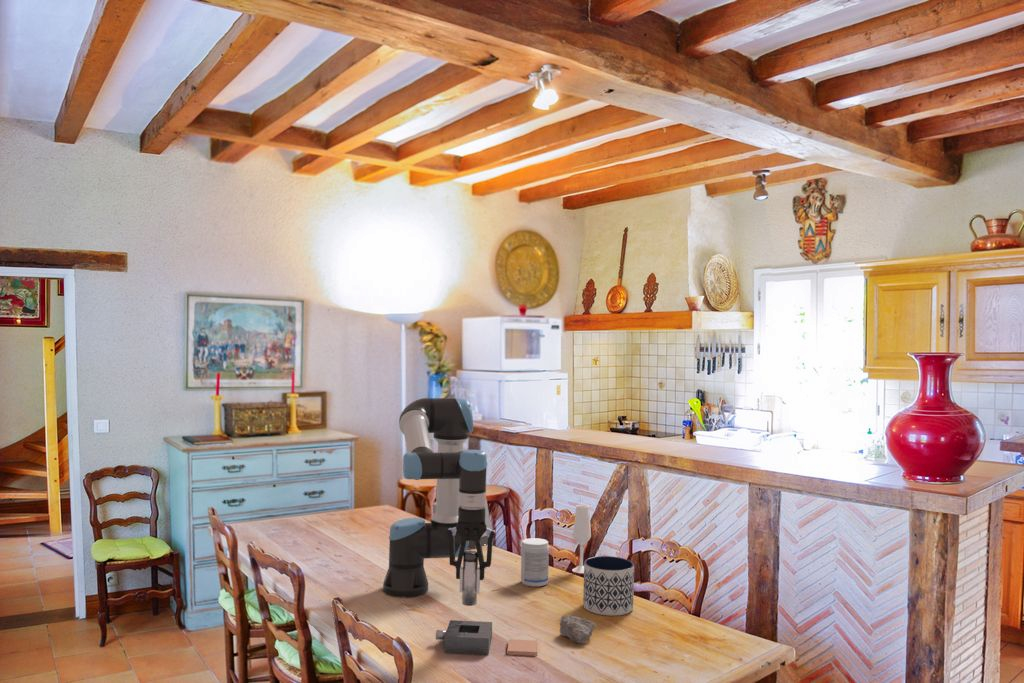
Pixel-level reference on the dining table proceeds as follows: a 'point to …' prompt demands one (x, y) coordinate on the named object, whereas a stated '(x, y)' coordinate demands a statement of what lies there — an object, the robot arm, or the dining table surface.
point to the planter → (608, 585)
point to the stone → (576, 628)
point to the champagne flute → (581, 531)
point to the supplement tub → (534, 562)
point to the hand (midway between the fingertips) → (469, 590)
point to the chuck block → (466, 637)
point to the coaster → (522, 647)
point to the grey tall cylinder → (469, 578)
